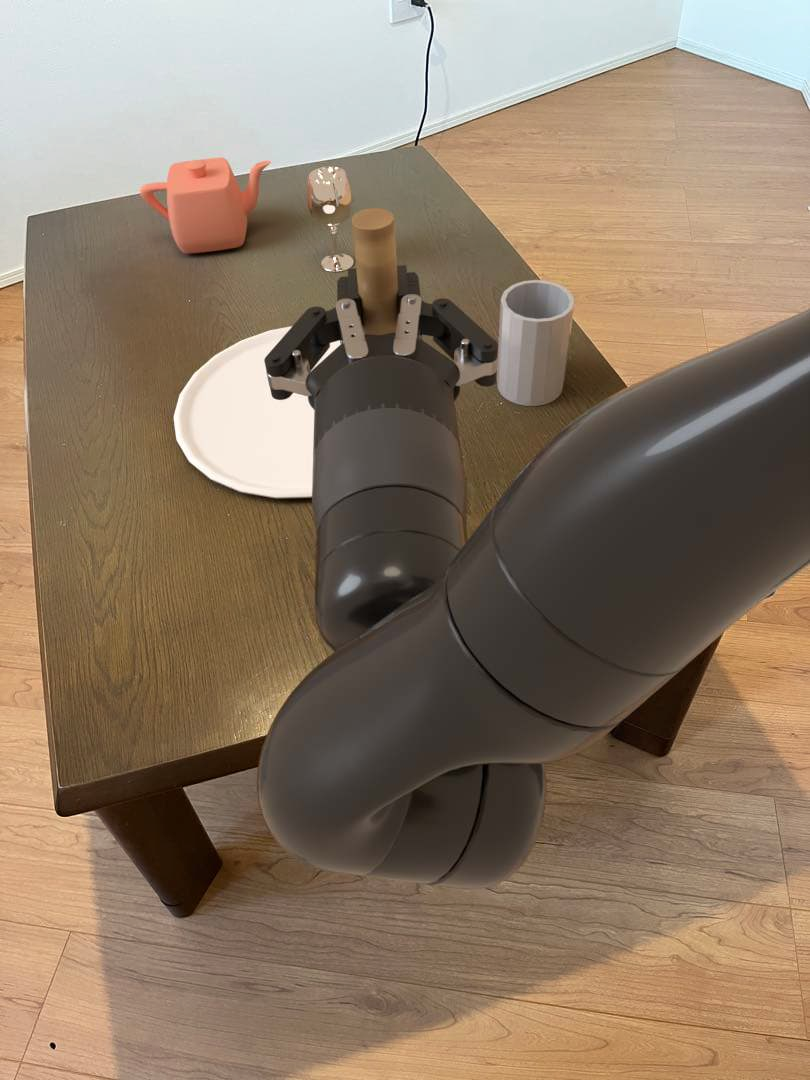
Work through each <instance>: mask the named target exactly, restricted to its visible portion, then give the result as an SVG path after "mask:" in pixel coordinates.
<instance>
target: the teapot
mask: <svg viewBox="0 0 810 1080" xmlns="http://www.w3.org/2000/svg"><path fill="white" fill-rule="evenodd" d="M271 163H272V160H262V161H260V162H257V163H256V164H254V165H253V166H252V167H251V169H250V171H249V179H248V185H247V187H246V188H245V189H244V191H242V192H241V189H240V186H239V184H238V181H237V178H236V176H235V174H234V171H233V169H232V167H231V165H230V163H229V161H228V159H226V158H225V157H212V158H204V159H203V158H202V159H193V160H187V161H180V162H174V163H172V164H171V165H170V167H169V169H168V172H167V179H166V181H160V182H150V183H146V184H143V185H142V186H141V187H140V188H139V195H140V197H141V198H142V200H143V201H144V202H145V203H146V205H147V206H149V207H150V208H151V209H153V210H154V211H155V212H156V213H158V214H159V215H161V216H162V217H164V218H165V219H167V220H168V221H169V226H170V230H171V235H172V237H173V239H174V242H175V245H176V246H177V247H178V249H179V251H181V252H182V253H183V254H201V253H207V252H209V253H210V252H216V251H224V250H229V249H234V248H239V247H241V246H243V245H244V242H245V240H246V235H247V230H248V229H247V228H248V215H249V214H251V213H252V212H253V210H254V209H255V208H256V206H257V204H258V201H259V195H260V194H259V193H260V180H261V179H260V178H261V175H262V172H263V171H264V170H265V168H266V167H267V166H269V165H270V164H271ZM160 191H166V203H167V204H166V205H167V207H165V206H164V205H163V204H162V203H161V202H160V201H159V200H158V199H157V197H156V196H155V195H154V193H155V192H160Z"/></svg>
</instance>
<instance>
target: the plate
mask: <svg viewBox="0 0 810 1080" xmlns="http://www.w3.org/2000/svg"><path fill="white" fill-rule="evenodd" d="M292 326H293V325H292ZM292 326H291V325H290V326H285V327H281V328H275V329H269V330H267V331H264V332H261V333H259V334H255V335H253V336H250V337H247V338H245V339H241V340H240V341H238V342H236V343H234V344H232V345H230V346H229V347H227V348H225V349H224V350H222V351H220V352H218V353H216V354H215V355H213V356H212V357H211V358H210V359H209V360H207V361H206V363H204V364H203V365H202V366H201V367H200V368H199V369H197V370H196V371H195V372H194V373H193V374H192V376H191V378H190V379H189V380H188V382H187V383H186V384H185V386H184V388H183V389H182V391H180V393H179V395H178V399H177V402H176V406H175V411H174V413H173V422H174V423H173V425H174V431H175V432H174V433H175V439H176V442H177V443H178V446H179V447H180V449H181V451H182V452H183V454H184V456H185V457H186V459H187V461H188V462H189V463H190V464H191V465H193V466H194V467H195V468H196V469H197V470H198V471H200V473H202V474H203V475H204V476H206V477H207V478H208V479H209V480H211V481H213V482H216V483H217V484H219V485H222V486H225V487H227V488H229V489H231V490H234V491H236V492H238V493H243V494H248V495H254V496H258V497H259V496H260V497H266V498H271V499H306V498H309V499H312V476H313V441H314V409H313V408H312V407H311V406H310V404H309V401H308V396H304V395H300V394H297V393H293V394H292V395H291V396H290V397H289V398H287V399H284V400H277V399H274V398H273V397H272V395H271V390H270V386H269V382H268V378H267V373H266V366H265V362H264V359H265V357H266V356H267V355H268V354H269V353H270V351H271V350H272V349H273V348H274V347H275V346H276V345H277V343H278V342H279V341H280V340H281V339H282V338H283V337H284V335H285V334H286V333H287V332H288V331H289V330H290V329H291V327H292ZM339 345H341V344H340V340H339V341H336V342H332V343H330V348H329V349H328V350H327V352H326V353H325V354H324V355H323V357H322V358H321V359H320V360H319V361H318V363H317V364H316V365H315V366H314V368H315V367H316V366H317V365H318V364H319V363H321V362H322V361H323V360H324V359H325V358H326V357H327V356H328V355H329V354H331V353H332V352H333V351H334V350H335V349H336V348H337V347H338V346H339ZM314 368H313V369H314ZM313 369H312V370H313ZM312 370H311V371H312ZM311 371H310V372H311Z"/></svg>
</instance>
